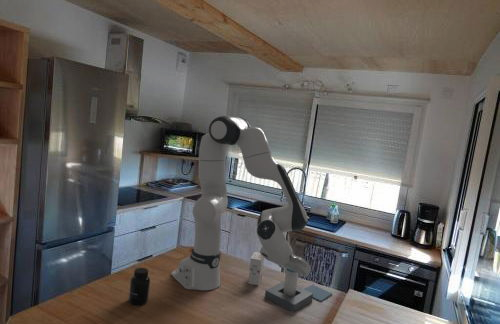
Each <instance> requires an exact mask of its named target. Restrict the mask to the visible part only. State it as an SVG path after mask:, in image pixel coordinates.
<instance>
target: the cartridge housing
mask: <svg viewBox="0 0 500 324" xmlns="http://www.w3.org/2000/svg"><path fill="white" fill-rule="evenodd" d="M284 283H285V280H284V281H281V282H279V283H278V284H275V285H273V286H271V287H269V288H268V289H265V294H264V298H265V299H268V300H269V301H271V302H273V303H275V304H277V305H279V306H281V307H283V308H285V309H287V310H289V311H290V312H292V313H294V312H296V311H298V310H299V309H301V308H303V307H304V306H306V305H307V304H309V303H311V302H312V301H313V299H314V298H313V293H311V292H309V291H306V290H304V289H305V288H302V287H299V286H296V294H295V297H293V298H291V297H289V296H287V295H285V294H283V290H284Z"/></svg>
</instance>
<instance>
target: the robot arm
mask: <svg viewBox="0 0 500 324" xmlns="http://www.w3.org/2000/svg"><path fill="white" fill-rule="evenodd" d="M234 145H236V146H237V147H239V149H240V151H241V155H242V158H243V162H244V163H243V164H244V166H245V169H246V171H247V173H249V175H251V176H252V177H253V178H257V179H259V180H269V181H272V182H276V183H277V184H278V185H279V186H280V188H281V190H282V192H283V195H284V197H285V199H286V202H287V205H282V206H280V207H279V206H278V207H273V208H268V209H265V210H262V211H261V212H260V213H259V216H258V218H257V223H256V224H257V226H256V234H257V235H256V236H257V238H258V240H259V242H260V245H261V248H260V250H259V253H261V255H263V256H264V260H266V261H269V262H270V263H273V264H275V265H277V266H278V267H279V268H281V269H284V268H285V269H286V268H287V269H290V270H292V271H294V272H297V273H298V277H299V276H300V277H309V274H310V273H311V271H312V267H311V266H310V265H309V263H308V262H307V261H306V260H305V259H304V258H303V257H300V256H297V255H295V254H294V251H293V248H292V247H291V244H290V243H289V241H288V240H287V239H286V236H285V234H284V233H288V232H298V231H303V229H305V228H306V227H307V224H308V221H309V219H308V214H307V211H306V209H305V207H304V206H303V205H302V202H301V200H300V198H299V196H298V194H297V190H296V189H295V187H294V185H293V182H292V181H291V178H290V176H289V174H288V172H287V170H286V168H285V167H284V165H283V164H282V163H278V162H277V161H276V160H275V158H274V157H273V155H272V150H271V147H270V144H269V142H268V139H267V137H266V135H265V133H264V131H263V129H261V128H260V127H256V126H251V124H250V123H249V121H248V120H246V119H245V118H243V117H239V116H235V115H230V116H229V115H228V116H227V115H226V116H225V115H221V116H217V117H215V118H214V119H213V120H212V121H210V124H209V127H208V132H207V133H206V134H204V135H202V137H201V138H200V144H199V150H198V182H199V184H200V188H201V197H199V198H197V200H196V201H195V203H194V205H193V207H192V216H193V219H194V230H195V231H194V242H193V247H192V248H189V251H188V253H190V252H191V253H190V255H189V256H187V257H186V258H183V259H182V260H181V261H179V263H178V266H177V268H176V269H174V270H173V271H172V272H171V274H170V275H171V276H172V277H173V278H174V279H175V280H176V281H177V282H178V283H179V284H180V285H181V286H182V287H183V288H185V289H186V290H196V291H212V290H215V289H218V287H220V285H221V280H220V279H221V275H220V274H221V273H220V266H221V265H220V261H221V255H222V253H221V244H222V236H223V234H222V233H223V232H222V227H221V225H222V224H221V220H222V215H223V213H224V212H226V210H227V208H228V204H229V200H228V190H227V182H226V166H227V164H226V163H227V159H226V158H227V156H226V154H227V149H228V147H229V146H234Z"/></svg>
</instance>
